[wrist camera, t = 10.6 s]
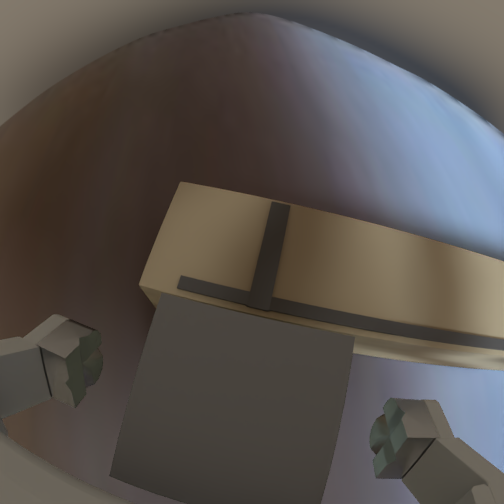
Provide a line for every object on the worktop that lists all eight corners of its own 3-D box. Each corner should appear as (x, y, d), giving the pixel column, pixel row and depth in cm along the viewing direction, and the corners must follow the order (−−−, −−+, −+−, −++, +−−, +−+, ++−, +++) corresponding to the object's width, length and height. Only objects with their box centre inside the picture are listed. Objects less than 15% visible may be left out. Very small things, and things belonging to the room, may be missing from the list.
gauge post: (291, 375, 13) (354, 336, 6) (271, 462, 11) (314, 524, 4) (201, 354, 14) (161, 292, 6) (178, 440, 12) (109, 476, 5)
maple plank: (549, 303, 15) (578, 286, 12) (552, 372, 13) (585, 361, 10) (188, 218, 17) (180, 179, 14) (156, 308, 14) (137, 283, 12)
